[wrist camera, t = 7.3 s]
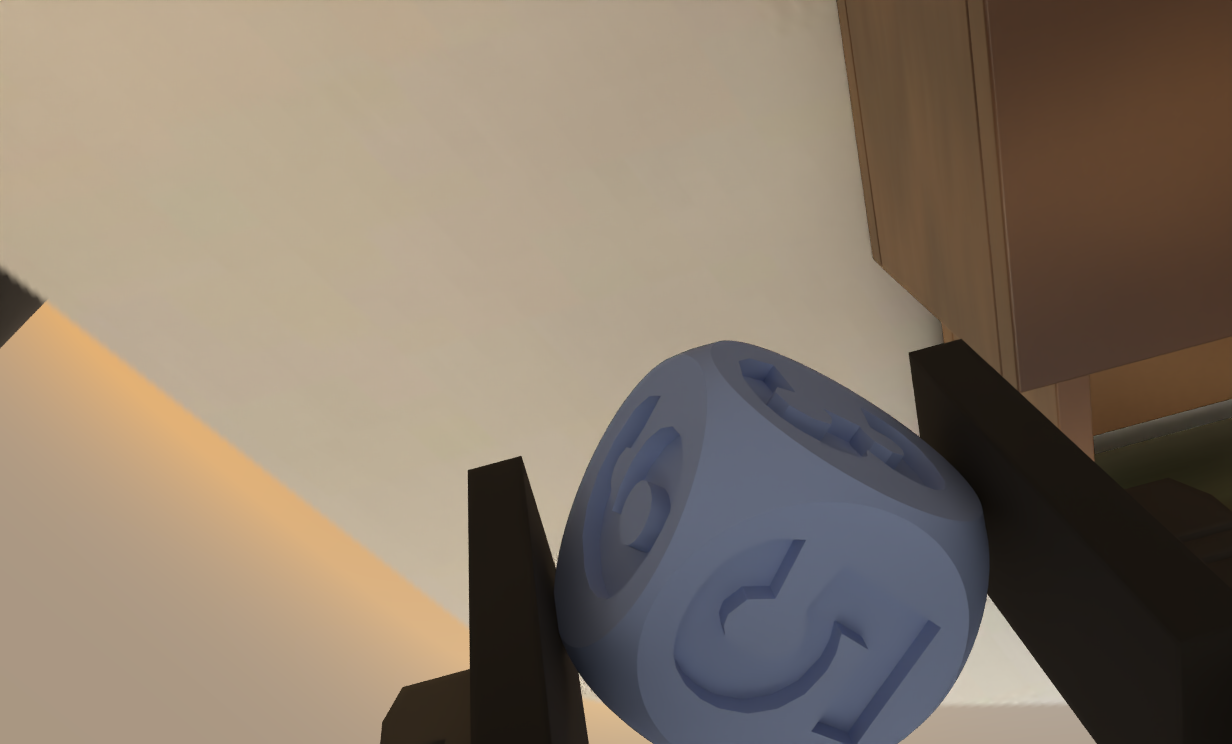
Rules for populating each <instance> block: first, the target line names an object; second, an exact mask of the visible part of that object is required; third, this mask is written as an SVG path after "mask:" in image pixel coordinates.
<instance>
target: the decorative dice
mask: <svg viewBox="0 0 1232 744" xmlns="http://www.w3.org/2000/svg"><path fill="white" fill-rule="evenodd" d="M989 570H990V564H989V544H988V537H987V531H986V526H985V520H984V515H983V509H982V505H981V502H980V500H979V498H978V496H977V494H976V493H975V491H974V490H973V488H972V487H971V486H970V485H969V483H968V482H967V481H966V480H965V479H964V478H963V476H962V475H961V474H960V473H959V472H958V471H957V470H956V469H955V468H954V467H953V466H952V465H951V464H950V463H949V462H948V461H947V460H946V459H945V458H944V457H942V456H941V455H940V454H939V453H938V452H937V451H936V450H934V449H933V448H932V447H931V446H930V445H928V444H927V443H926V442H925V441H924V440H922V439H921V438H920V437H919V436H917V435H916V434H915V433H913V432H912V431H911V430H909V429H908V428H907V427H905V426H904V425H903V424H901V423H900V422H899V421H897V420H896V419H894V418H893V417H891V416H890V415H889V414H887V413H886V412H884V411H883V410H881V409H880V408H878V407H877V406H875V405H874V404H872V403H870V402H869V401H867V400H866V399H864V398H863V397H861V396H859V395H858V394H856V393H854V392H853V391H851V390H849V389H848V388H846V387H844V386H842V385H841V384H839V383H837V382H835V381H834V380H832V379H830V378H828V377H826V376H824V375H823V374H821V373H819V372H817V371H815V370H813V369H811V368H809V367H807V366H805V365H803V364H801V363H798V362H796V361H794V360H792V359H790V358H787V357H785V356H782V355H780V354H778V353H775V352H772V351H770V350H767V349H764V348H761V347H758V346H755V345H751V344H747V343H743V342H738V341H719V342H715V343H711V344H707V345H704V346H700V347H697V348H693V349H690V350H688V351H685V352H683V353H680V354H678V355H675V356H673V357H671V358H668V359H666V360H665V361H663V362H661V363H660V364H659V365H657V366H656V367H655V368H653V369H652V370H651V371H650V372H649V373H648V374H647V375H646V376H645V377H644V378H643V379H642V380H641V381H640V382H639V383H638V385H637V386H636V387H635V388H634V389H633V391H632V392H631V393H630V395H629V396H628V397H627V398H626V400H625V401H624V403H623V404H622V406H621V407H620V408H619V410H618V411H617V413H616V415H615V416H614V418H613V419H612V421H611V423H610V424H609V426H608V428H607V429H606V431H605V433H604V435H603V437H602V438H601V440H600V442H599V444H598V446H597V448H596V450H595V452H594V454H593V456H592V458H591V460H590V463H589V465H588V467H587V469H586V472H585V474H584V476H583V479H582V481H581V484H580V486H579V489H578V491H577V494H576V497H575V499H574V502H573V505H572V508H571V511H570V514H569V517H568V520H567V524H566V527H565V531H564V535H563V538H562V542H561V547H560V551H559V556H558V561H557V567H556V574H555V583H554V598H555V606H556V614H557V621H558V629H559V634H560V637H561V639H562V642H563V645H564V647H565V649H566V651H567V653H568V655H569V657H570V659H571V661H572V663H573V664H574V666H575V668H576V669H577V671H578V672H579V674H580V675H581V677H582V678H583V679H584V681H585V682H586V683H587V684H588V686H589V687H590V688H591V689H592V691H593V692H594V693H595V694H596V695H597V696H598V697H599V698H600V699H601V700H602V702H603V703H604V704H605V705H606V706H607V707H608V708H609V709H610V710H612V711H613V712H614V713H615V714H616V715H617V716H618V717H619V718H621V720H623V721H624V722H625V723H626V724H627V725H629V726H630V727H631V728H632V729H634V730H635V731H636V732H638V733H639V734H640V735H642V736H643V737H644V738H646V739H647V740H649V741H650V742H652V743H653V744H898V743H899V742H900V741H902V740H903V739H905V738H906V737H907V736H908V735H909V734H911V733H912V732H913V731H914V730H915V729H916V728H918V726H920V725H921V724H922V723H923V722H924V721H925V720H926V719H927V718H928V717H929V716H930V715H931V714H932V713H933V712H934V711H935V710H936V708H937V707H938V706H939V705H940V703H941V702H942V701H943V700H944V698H945V697H946V695H947V694H948V692H949V691H950V690H951V688H952V686H953V685H954V683H955V682H956V680H957V678H958V677H959V675H960V673H961V671H962V669H963V667H964V665H965V663H966V661H967V659H968V656H969V654H970V652H971V650H972V647H973V645H974V642H975V639H976V636H977V634H978V630H979V627H980V624H981V620H982V617H983V612H984V608H985V603H986V598H987V591H988V584H989Z"/></svg>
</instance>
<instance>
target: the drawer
mask: <svg viewBox="0 0 1232 744" xmlns="http://www.w3.org/2000/svg"><path fill="white" fill-rule="evenodd" d="M942 330H943V339H944V343H947V342H951V341H954V340H958V339H959V338H958V337H957V336H956V335H955V334H954V333H952V332H951V331H950V330H949V329H948V328H947V327H946V326H945V325H944V324H943V323H942ZM1021 394H1022V395H1023V396H1024V397H1025V398H1026V399H1027V400H1028V401H1029V402H1030V403H1031V404H1033V405H1034V406H1035V407H1036V408H1037V409H1038V410H1039V411H1040V412H1041V413H1042V414H1043V415H1044V416H1045V417H1047V418H1048V419H1049V420H1050V421H1051V422H1052V423H1053V424H1054V425H1055V426H1056V427H1057V428H1058V429H1060V430H1061V431H1062V432H1063V433H1064V434H1065V435H1066V436H1067V437H1068V438H1069V439H1070V440H1071V441H1072V442H1074V443H1075V444H1076V445H1077V446H1078V447H1079V448H1080V449H1081V450H1082V451H1083V452H1084V453H1085V454H1087V455H1088V456H1089V457H1090V458H1091V459H1092V460H1093V461H1094V462H1095V463H1096V464H1097V465H1098V466H1099V467H1101V468H1102V469H1103V470H1104V471H1105V472H1106V473H1107V474H1108V475H1109V476H1110V477H1111V478H1112V479H1113V480H1115V481H1116V482H1117V483H1118V484H1119V485H1120V486H1121V487H1122V488H1123V489H1128V488H1131V487H1135V486H1139V485H1142V484H1146V483H1150V482H1154V481H1157V480H1161V479H1165V478H1171V479H1173V480H1176V481H1178V482H1181V483H1183V484H1186V485H1188V486H1191V487H1193V488H1196V489H1198V490H1201V491H1203V492H1206V493H1209V494H1211V495H1213V496H1214V497H1215V498H1216V499H1218V500H1219V501H1220V502H1221V503H1222V504H1224V505H1225V506H1226V507H1227V508H1228V509H1230V510H1231V511H1232V417H1231V418H1228V419H1224V420H1220V421H1216V422H1213V423H1209V424H1205V425H1202V426H1198V427H1194V428H1190V429H1187V430H1183V431H1179V432H1176V433H1172V434H1168V435H1164V436H1161V437H1157V438H1153V439H1150V440H1146V441H1142V442H1138V443H1135V444H1131V445H1127V446H1124V447H1120V448H1116V449H1112V450H1109V451H1105V452H1101V453H1098V454H1094V440H1093V436H1095V435H1099V434H1103V433H1106V432H1110V431H1114V430H1117V429H1121V428H1125V427H1129V426H1132V425H1136V424H1140V423H1144V422H1147V421H1151V420H1155V419H1158V418H1162V417H1166V416H1170V415H1173V414H1177V413H1181V412H1184V411H1188V410H1192V409H1196V408H1199V407H1203V406H1207V405H1210V404H1214V403H1218V402H1222V401H1225V400H1229V399H1232V337H1228V338H1224V339H1221V340H1217V341H1213V342H1209V343H1206V344H1202V345H1198V346H1194V347H1191V348H1187V349H1183V350H1179V351H1176V352H1172V353H1168V354H1165V355H1161V356H1157V357H1153V358H1150V359H1146V360H1142V361H1138V362H1135V363H1131V364H1127V365H1123V366H1120V367H1116V368H1112V369H1108V370H1105V371H1101V372H1097V373H1093V374H1090V375H1086V376H1082V377H1079V378H1075V379H1071V380H1067V381H1064V382H1060V383H1056V384H1052V385H1049V386H1045V387H1041V388H1037V389H1034V390H1030V391H1026V392H1022V393H1021Z"/></svg>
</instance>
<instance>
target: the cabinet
mask: <svg viewBox="0 0 1232 744" xmlns="http://www.w3.org/2000/svg"><path fill="white" fill-rule="evenodd" d="M837 6H838V13H839V20H840V27H841V34H842V41H843V49H844V56H845V63H846V70H847V77H848V84H849V91H850V98H851V105H852V112H853V119H854V127H855V134H856V141H857V148H858V155H859V162H860V169H861V176H862V183H863V190H864V197H865V205H866V212H867V219H868V226H869V233H870V240H871V247H872V254H873V259H874V260H875V261H876V262H877V263H878V264H879V265H880V266H881V267H883V269H884V270H885V271H886V272H887V273H888V274H889V275H890V276H891V277H893V278H894V279H895V280H896V281H897V282H898V283H899V284H900V285H901V286H902V287H903V288H905V289H906V290H907V291H908V292H909V293H910V294H911V295H912V296H913V297H914V298H915V299H916V300H918V301H919V302H920V303H921V304H922V305H923V306H924V307H925V308H926V309H927V310H928V311H930V312H931V313H932V314H933V315H934V316H935V317H936V318H937V319H938V320H939V321H940V322H942V323H943V324H944V325H945V326H946V327H947V328H948V329H949V330H950V331H951V332H952V333H954V334H955V335H956V336H957V337H958V338H959V339H962V340H963V341H965V342H966V343H967V344H968V345H969V346H970V347H971V348H972V349H973V350H974V351H975V352H976V353H977V354H979V355H980V356H981V357H982V358H983V359H984V360H985V361H986V362H987V363H988V364H989V365H990V366H992V367H993V368H994V369H995V370H996V371H997V372H998V373H999V374H1000V375H1001V376H1002V377H1003V378H1004V379H1006V380H1007V381H1008V382H1009V383H1010V384H1011V385H1012V386H1013V387H1014V388H1015V389H1016V390H1017V391H1019V392H1020V393H1022V392H1026V391H1030V390H1034V389H1037V388H1041V387H1045V386H1049V385H1052V384H1056V383H1060V382H1064V381H1067V380H1071V379H1075V378H1079V377H1082V376H1086V375H1090V374H1093V373H1097V372H1101V371H1105V370H1108V369H1112V368H1116V367H1120V366H1123V365H1127V364H1131V363H1135V362H1138V361H1142V360H1146V359H1150V358H1153V357H1157V356H1161V355H1165V354H1168V353H1172V352H1176V351H1179V350H1183V349H1187V348H1191V347H1194V346H1198V345H1202V344H1206V343H1209V342H1213V341H1217V340H1221V339H1224V338H1228V337H1232V0H837Z"/></svg>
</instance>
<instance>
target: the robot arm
mask: <svg viewBox="0 0 1232 744" xmlns="http://www.w3.org/2000/svg"><path fill="white" fill-rule="evenodd" d="M909 359H910V366H911V373H912V381H913V388H914V396H915V403H916V410H917V418H918V425H919V432H920V438H921V439H922V440H924V441H925V442H926V443H927V444H928V445H930V446H931V447H932V448H933V449H934V450H936V451H937V452H938V453H939V454H940V455H941V456H942V457H944V458H945V459H946V460H947V461H948V462H949V463H950V464H951V465H952V466H953V467H954V468H955V469H956V470H957V471H958V472H959V473H960V474H961V475H962V476H963V478H964V479H965V480H966V481H967V482H968V483H969V485H970V486H971V487H972V488H973V490H974V491H975V493H976V494H977V496H978V498H979V500H980V502H981V505H982V509H983V515H984V520H985V526H986V531H987V537H988V544H989V564H990V570H989V584H988V591H987V594H988V595H989V597H990V598H991V600H992V601H993V602H994V604H995V605H996V606H997V608H998V609H999V611H1000V612H1001V613H1002V615H1003V616H1004V617H1005V619H1006V620H1007V621H1008V623H1009V624H1010V626H1011V627H1012V628H1013V630H1014V631H1015V632H1016V634H1017V635H1018V637H1019V638H1020V639H1021V641H1022V642H1023V643H1024V645H1025V646H1026V647H1027V649H1028V650H1029V652H1030V653H1031V654H1032V656H1033V657H1034V658H1035V660H1036V661H1037V663H1038V664H1039V665H1040V667H1041V668H1042V669H1043V671H1044V672H1045V673H1046V675H1047V676H1048V678H1049V679H1050V680H1051V682H1052V683H1053V684H1054V686H1055V687H1056V688H1057V690H1058V691H1059V693H1060V694H1061V695H1062V697H1063V698H1064V699H1065V701H1066V702H1067V704H1068V705H1069V706H1070V708H1071V709H1072V710H1073V712H1074V713H1075V714H1076V716H1077V717H1078V718H1079V720H1080V721H1081V723H1082V724H1083V725H1084V727H1085V728H1086V729H1087V731H1088V732H1089V734H1090V735H1091V736H1092V738H1093V739H1094V740H1095V742H1096V743H1097V744H1232V511H1231V510H1230V509H1228V508H1227V507H1226V506H1225V505H1224V504H1222V503H1221V502H1220V501H1219V500H1218V499H1216V498H1215V497H1214V496H1213V495H1211V494H1209V493H1206V492H1203V491H1201V490H1198V489H1196V488H1193V487H1191V486H1188V485H1186V484H1183V483H1181V482H1178V481H1176V480H1173V479H1171V478H1165V479H1161V480H1157V481H1154V482H1150V483H1146V484H1142V485H1139V486H1135V487H1131V488H1128V489H1123V488H1122V487H1121V486H1120V485H1119V484H1118V483H1117V482H1116V481H1115V480H1113V479H1112V478H1111V477H1110V476H1109V475H1108V474H1107V473H1106V472H1105V471H1104V470H1103V469H1102V468H1101V467H1099V466H1098V465H1097V464H1096V463H1095V462H1094V461H1093V460H1092V459H1091V458H1090V457H1089V456H1088V455H1087V454H1085V453H1084V452H1083V451H1082V450H1081V449H1080V448H1079V447H1078V446H1077V445H1076V444H1075V443H1074V442H1072V441H1071V440H1070V439H1069V438H1068V437H1067V436H1066V435H1065V434H1064V433H1063V432H1062V431H1061V430H1060V429H1058V428H1057V427H1056V426H1055V425H1054V424H1053V423H1052V422H1051V421H1050V420H1049V419H1048V418H1047V417H1045V416H1044V415H1043V414H1042V413H1041V412H1040V411H1039V410H1038V409H1037V408H1036V407H1035V406H1034V405H1033V404H1031V403H1030V402H1029V401H1028V400H1027V399H1026V398H1025V397H1024V396H1023V395H1022V394H1021V393H1020V392H1019V391H1017V390H1016V389H1015V388H1014V387H1013V386H1012V385H1011V384H1010V383H1009V382H1008V381H1007V380H1006V379H1004V378H1003V377H1002V376H1001V375H1000V374H999V373H998V372H997V371H996V370H995V369H994V368H993V367H992V366H990V365H989V364H988V363H987V362H986V361H985V360H984V359H983V358H982V357H981V356H980V355H979V354H977V353H976V352H975V351H974V350H973V349H972V348H971V347H970V346H969V345H968V344H967V343H966V342H965V341H963V340H962V339H958V340H954V341H951V342H947V343H943V344H939V345H936V346H932V347H928V348H924V349H921V350H917V351H913V352H909ZM468 533H469V630H470V669H468V670H465V671H461V672H458V673H454V674H450V675H446V676H442V677H439V678H435V679H432V680H428V681H424V682H420V683H417V684H413V685H410V686H405V687H403V688H402V689H401V691H400V693H399V694H398V696H397V698H396V700H395V701H394V703H393V705H392V707H391V708H390V710H389V712H388V713H387V715H386V717H385V719H384V720H383V722H382V732H381V742H380V744H589V742H588V735H587V728H586V722H585V715H584V708H583V702H582V694H581V688H580V681H579V674H578V671H577V669H576V668H575V666H574V664H573V663H572V661H571V659H570V657H569V655H568V653H567V651H566V649H565V647H564V645H563V642H562V639H561V637H560V634H559V629H558V621H557V614H556V606H555V598H554V583H555V574H556V568H555V564H554V561H553V558H552V554H551V551H550V548H549V545H548V541H547V538H546V535H545V532H544V528H543V525H542V522H541V518H540V515H539V512H538V509H537V505H536V502H535V499H534V496H533V492H532V489H531V486H530V482H529V479H528V476H527V473H526V469H525V466H524V463H523V460H522V456H519V457H515V458H512V459H508V460H504V461H500V462H497V463H493V464H489V465H485V466H482V467H478V468H474V469H470V470H468Z"/></svg>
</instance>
